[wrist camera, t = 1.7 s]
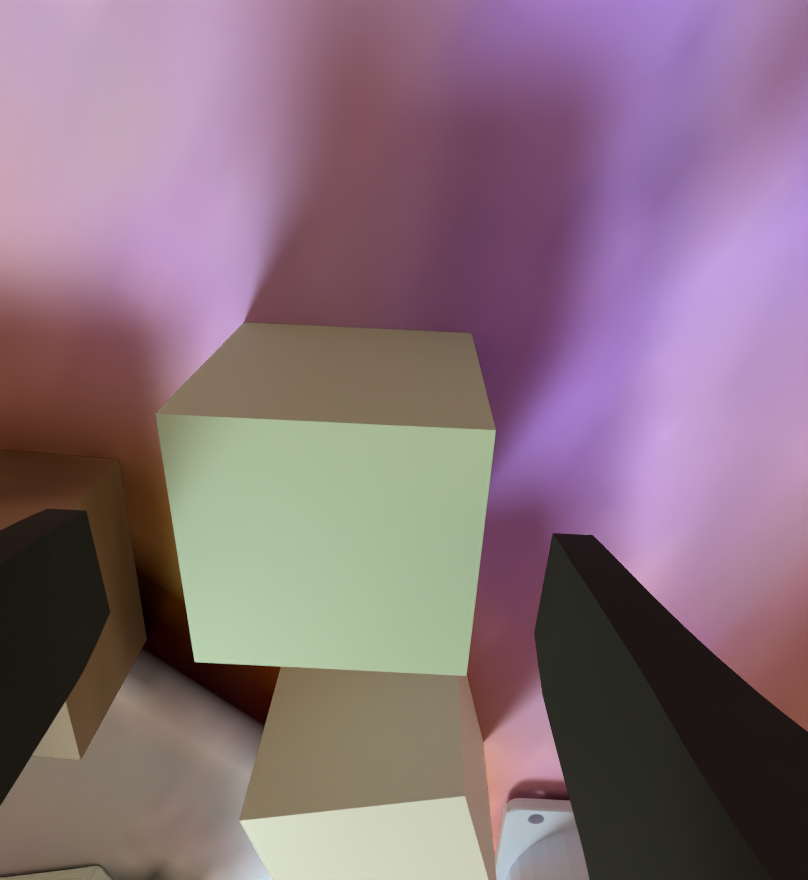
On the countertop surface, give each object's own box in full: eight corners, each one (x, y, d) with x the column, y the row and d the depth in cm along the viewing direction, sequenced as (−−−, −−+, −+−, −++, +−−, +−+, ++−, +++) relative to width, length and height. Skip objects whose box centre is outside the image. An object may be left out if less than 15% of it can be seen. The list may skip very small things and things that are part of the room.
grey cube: (454, 623, 17) (464, 795, 13) (483, 740, 19) (500, 923, 15) (286, 647, 18) (238, 820, 13) (332, 758, 20) (305, 939, 15)
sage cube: (471, 331, 13) (495, 430, 9) (454, 521, 16) (466, 675, 11) (245, 321, 13) (155, 413, 9) (260, 511, 16) (194, 661, 11)
